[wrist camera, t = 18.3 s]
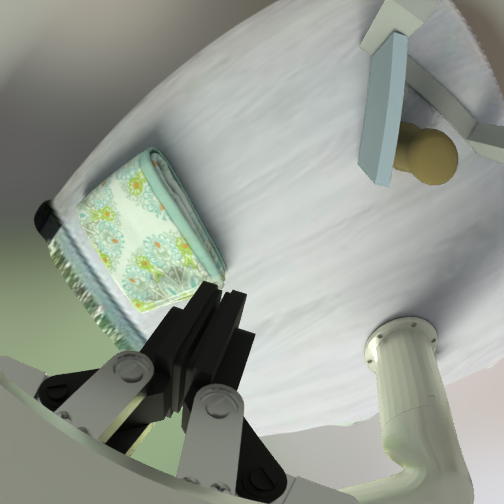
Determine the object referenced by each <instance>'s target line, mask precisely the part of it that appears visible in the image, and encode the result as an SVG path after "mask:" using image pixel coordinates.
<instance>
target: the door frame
mask: <svg viewBox="0 0 504 504" xmlns="http://www.w3.org/2000/svg"><path fill="white" fill-rule="evenodd" d="M440 1H441V0H385V1H384V3H383V5H382V6H381V8H380V10H379V12H378V14H377V15H376V17H375V19H374V21H373V22H372V24H371V26H370V28H369V30H368V31H367V33H366V35H365V37H364V39H363V40H362V42H361V44H360V46H359V47H360V48H361V49H363V50H364V51H366V52H367V53H369V54H370V55H371V56H373V55H374V54H375V53H376V52H377V51H378V50H379V48H380V47H381V46H382V45H383V44H384V43H385V42H386V41H387V39H388V38H389V37H390V36H391V35H392V34H393V33H394V32H395V33H398V34H402V35H405V36H408V37H409V36H410V35H411V34H412V33H413V32H415V31H416V30H417V29H418V28H419V27H420V26H421V25H423V24H424V23H425V21H426V20H427V19H428V17H429V16H430V15H431V13H432V12H433V10H434V9H435V8H436V6H437V5H438V4H439V2H440ZM405 82H406V83H408V84H409V85H410V86H411V87H412V88H413V89H414V90H415V91H417V92H418V93H419V94H420V95H421V96H422V97H423V98H424V99H426V100H427V101H428V102H429V103H430V104H431V105H432V106H433V107H434V108H435V109H436V110H437V111H438V112H439V113H440V114H441V115H442V116H443V117H444V118H445V119H446V120H447V121H448V122H449V123H450V124H451V125H452V126H453V127H454V128H455V129H456V130H457V131H458V132H459V133H460V134H461V136H462V137H463V138H464V139H465V140H466V141H467V142H468V143H469V145H470V146H471V147H472V148H473V149H474V150H475V151H476V153H477V154H478V155H479V156H481V157H484V158H487V159H490V160H493V161H496V162H499V163H502V164H504V127H503V126H496V125H489V124H480V123H477V122H476V120H475V119H474V118H473V117H472V116H471V115H470V114H469V113H468V111H467V110H466V109H465V108H464V107H463V106H462V105H461V104H460V103H459V102H458V101H457V100H456V99H455V98H454V97H453V96H452V95H451V94H450V93H449V92H448V91H447V90H446V89H445V88H444V87H443V86H442V85H441V84H440V83H439V82H438V81H437V80H436V79H435V78H433V77H432V76H431V75H430V74H429V73H428V72H427V71H426V70H425V69H423V68H422V67H421V66H420V65H419V64H418V63H416V62H415V61H414V60H413V59H412V58H410V57H409V56H408V55H407V63H406V76H405Z"/></svg>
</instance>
